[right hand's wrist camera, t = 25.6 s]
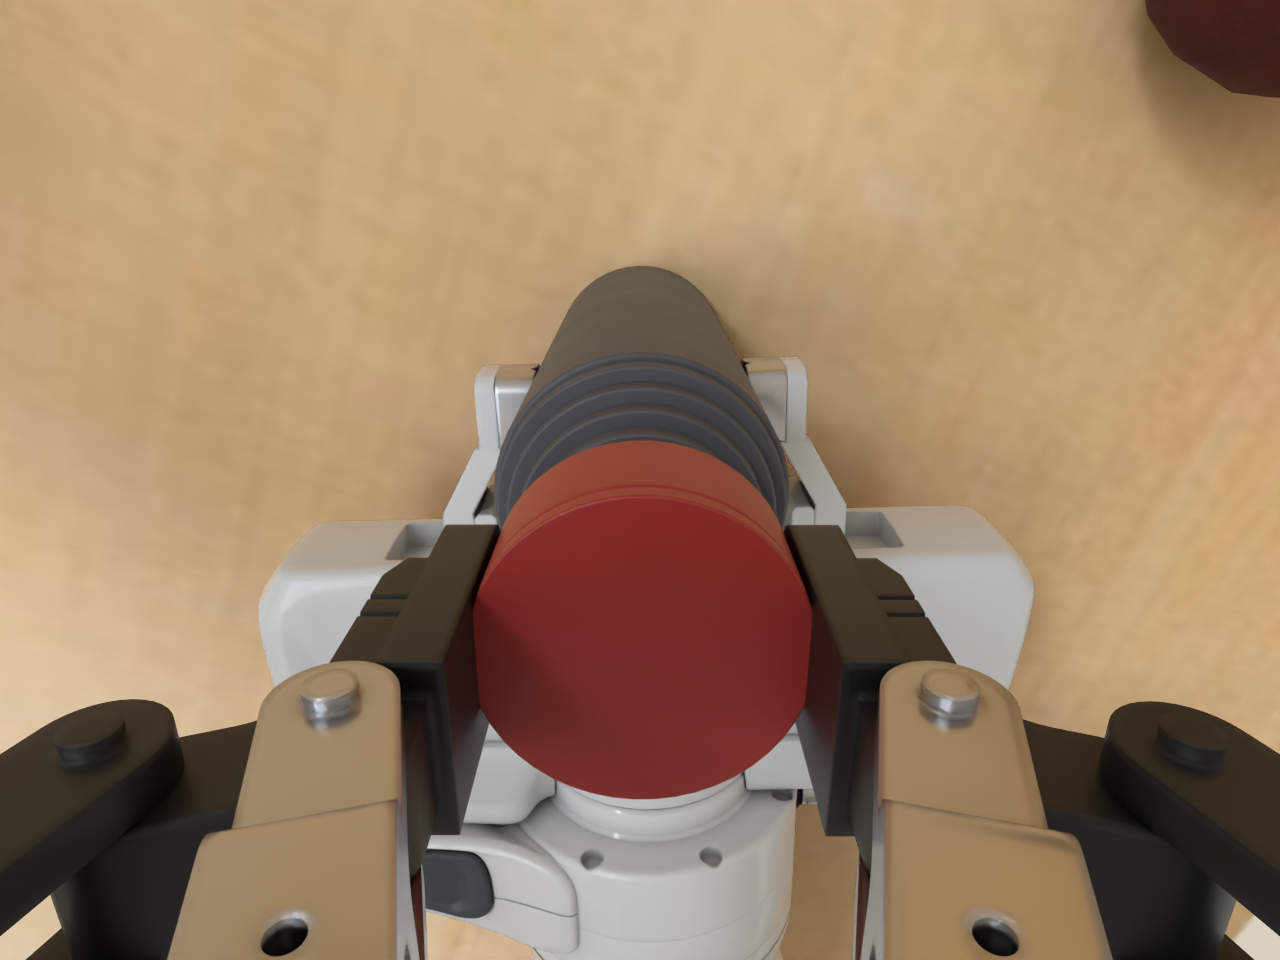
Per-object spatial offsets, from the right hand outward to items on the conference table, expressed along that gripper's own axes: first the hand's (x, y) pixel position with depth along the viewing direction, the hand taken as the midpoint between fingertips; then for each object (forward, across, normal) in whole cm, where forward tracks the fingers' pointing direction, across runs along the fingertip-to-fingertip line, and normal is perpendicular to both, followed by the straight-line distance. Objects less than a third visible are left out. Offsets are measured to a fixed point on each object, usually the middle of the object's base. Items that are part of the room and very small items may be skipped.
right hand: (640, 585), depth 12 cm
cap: (-2, 0, 0) cm, 2 cm away
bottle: (+16, 0, 0) cm, 16 cm away
